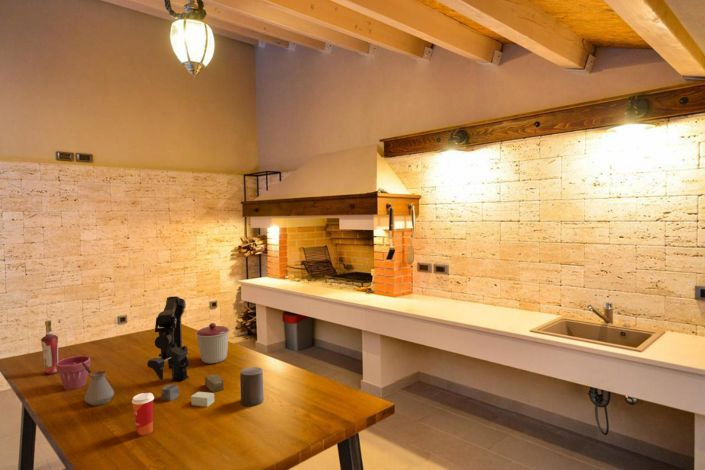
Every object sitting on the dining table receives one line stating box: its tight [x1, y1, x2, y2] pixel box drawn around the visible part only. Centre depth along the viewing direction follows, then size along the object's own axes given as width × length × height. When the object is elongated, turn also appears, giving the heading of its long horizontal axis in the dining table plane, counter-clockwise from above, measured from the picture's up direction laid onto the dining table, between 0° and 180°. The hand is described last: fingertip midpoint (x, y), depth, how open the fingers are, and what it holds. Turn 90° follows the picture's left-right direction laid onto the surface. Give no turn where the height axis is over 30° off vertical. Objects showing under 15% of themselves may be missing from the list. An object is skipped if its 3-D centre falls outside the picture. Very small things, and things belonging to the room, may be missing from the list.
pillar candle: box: [239, 366, 265, 407], centre depth 191 cm, size 10×10×15 cm
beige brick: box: [190, 391, 215, 408], centre depth 191 cm, size 8×5×4 cm, turn 73°
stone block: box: [204, 374, 225, 393], centre depth 208 cm, size 6×12×5 cm, turn 37°
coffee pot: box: [80, 363, 115, 406], centre depth 199 cm, size 21×12×15 cm, turn 53°
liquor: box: [40, 319, 59, 375], centre depth 233 cm, size 7×7×28 cm
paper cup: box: [131, 392, 155, 437], centre depth 168 cm, size 8×8×14 cm
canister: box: [195, 322, 231, 364], centre depth 244 cm, size 18×18×21 cm
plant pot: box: [56, 355, 92, 391], centre depth 214 cm, size 14×14×13 cm
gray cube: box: [160, 384, 180, 402], centre depth 198 cm, size 5×5×5 cm
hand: (169, 376), depth 197 cm, fingers open, 9 cm apart
